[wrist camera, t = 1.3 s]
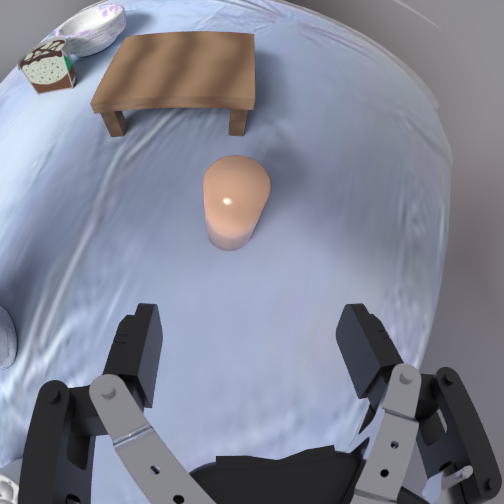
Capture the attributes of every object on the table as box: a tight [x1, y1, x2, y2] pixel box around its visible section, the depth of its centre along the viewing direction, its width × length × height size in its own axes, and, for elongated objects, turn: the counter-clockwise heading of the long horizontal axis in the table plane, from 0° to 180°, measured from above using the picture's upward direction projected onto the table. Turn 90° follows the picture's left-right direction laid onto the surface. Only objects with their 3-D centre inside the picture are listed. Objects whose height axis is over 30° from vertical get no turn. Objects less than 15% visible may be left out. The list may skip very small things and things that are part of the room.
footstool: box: [90, 31, 255, 137], centre depth 32 cm, size 20×16×8 cm
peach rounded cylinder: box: [203, 155, 271, 251], centre depth 27 cm, size 5×5×11 cm
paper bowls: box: [55, 4, 126, 57], centre depth 35 cm, size 15×15×8 cm
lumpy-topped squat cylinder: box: [0, 458, 23, 504], centre depth 14 cm, size 10×13×9 cm
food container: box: [17, 36, 77, 95], centre depth 30 cm, size 12×6×10 cm, turn 86°
